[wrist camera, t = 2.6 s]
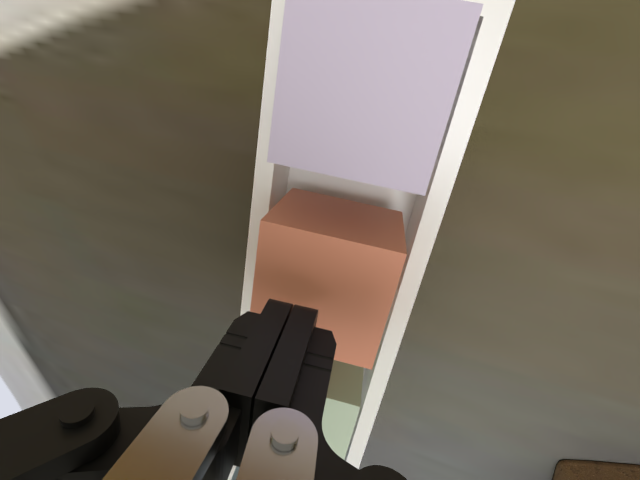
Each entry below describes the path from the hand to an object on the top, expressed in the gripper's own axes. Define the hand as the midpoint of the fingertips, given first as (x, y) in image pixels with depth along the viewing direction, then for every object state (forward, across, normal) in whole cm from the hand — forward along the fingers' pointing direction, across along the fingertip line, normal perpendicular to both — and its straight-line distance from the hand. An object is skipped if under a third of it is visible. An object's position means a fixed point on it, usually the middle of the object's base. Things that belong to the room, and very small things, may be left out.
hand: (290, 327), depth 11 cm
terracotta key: (+7, -1, 0) cm, 7 cm away
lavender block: (+7, -1, -7) cm, 10 cm away
